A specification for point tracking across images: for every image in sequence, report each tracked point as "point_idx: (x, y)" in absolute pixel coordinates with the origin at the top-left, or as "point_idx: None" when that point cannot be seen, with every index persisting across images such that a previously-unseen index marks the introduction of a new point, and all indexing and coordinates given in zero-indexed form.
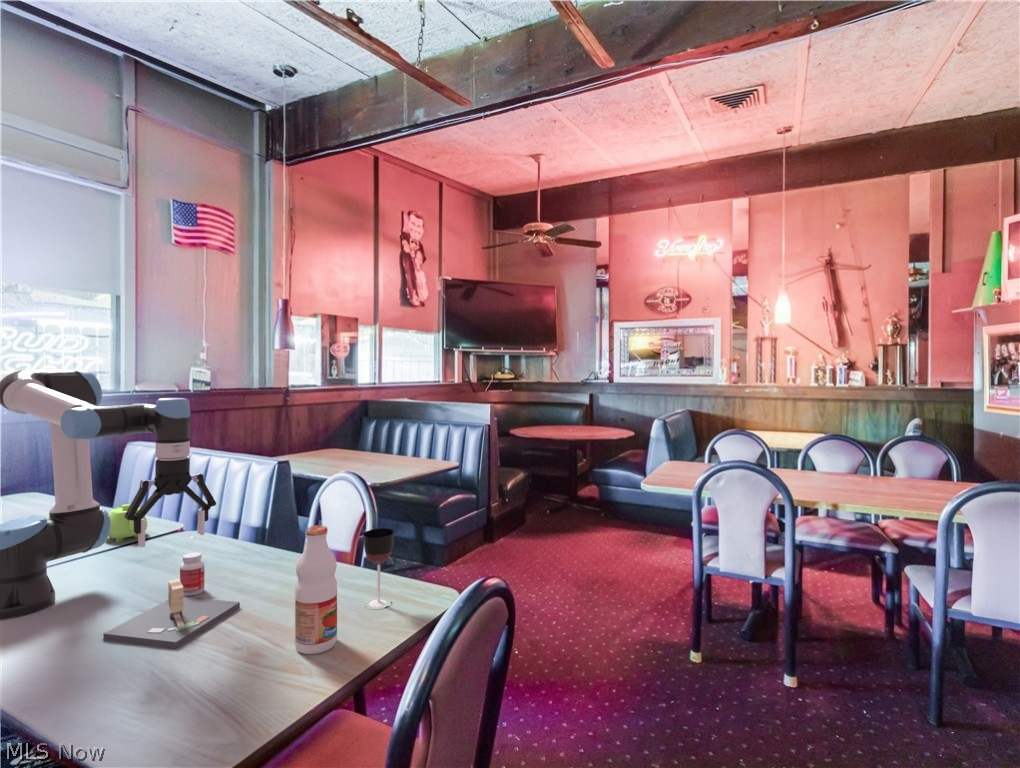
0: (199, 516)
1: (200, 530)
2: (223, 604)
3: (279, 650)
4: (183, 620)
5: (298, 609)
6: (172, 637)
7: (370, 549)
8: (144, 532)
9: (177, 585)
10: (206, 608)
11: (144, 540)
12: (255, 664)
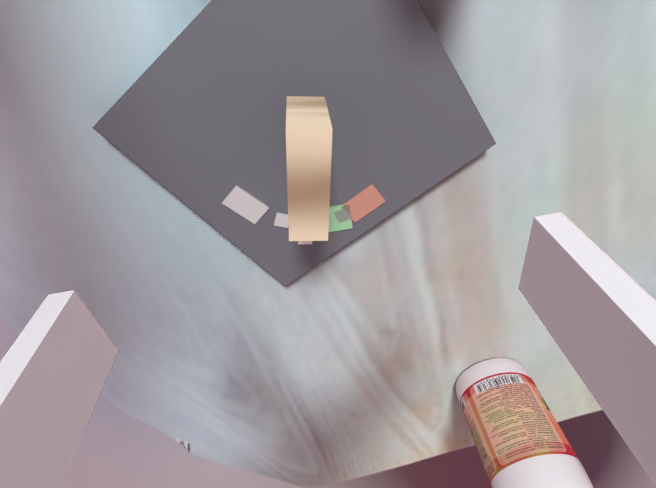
0: (645, 399)
1: (540, 297)
2: (452, 129)
3: (437, 367)
4: None
5: (484, 465)
6: (280, 262)
7: None
8: (62, 471)
9: (312, 210)
10: (399, 127)
11: (95, 396)
12: (388, 383)
